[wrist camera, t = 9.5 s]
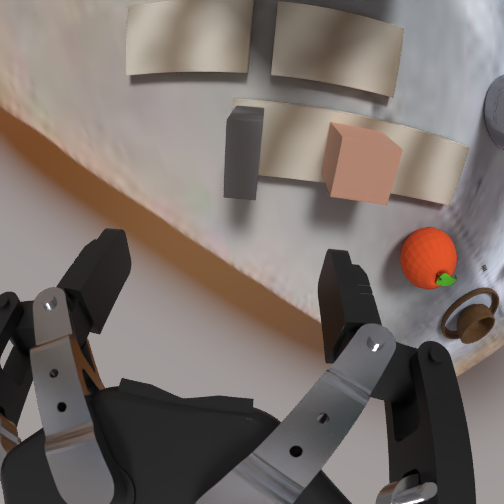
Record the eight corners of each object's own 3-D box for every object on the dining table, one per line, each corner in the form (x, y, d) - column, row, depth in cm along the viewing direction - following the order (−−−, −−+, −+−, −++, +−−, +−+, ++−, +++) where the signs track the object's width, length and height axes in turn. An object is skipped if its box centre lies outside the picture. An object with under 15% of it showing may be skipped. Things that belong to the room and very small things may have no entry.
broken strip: (399, 29, 18) (403, 28, 17) (389, 96, 22) (393, 97, 22) (132, 8, 18) (128, 7, 17) (130, 74, 22) (126, 75, 22)
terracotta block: (382, 132, 24) (402, 149, 20) (370, 180, 27) (386, 205, 23) (330, 121, 24) (342, 136, 20) (321, 172, 27) (330, 196, 23)
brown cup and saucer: (423, 305, 40) (434, 335, 35) (519, 229, 30) (540, 254, 25) (453, 343, 46) (462, 368, 41) (531, 286, 36) (544, 308, 31)
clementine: (456, 230, 31) (482, 267, 25) (426, 270, 35) (445, 310, 29) (413, 206, 29) (440, 244, 24) (382, 252, 33) (399, 295, 28)
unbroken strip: (464, 145, 24) (502, 172, 18) (445, 201, 28) (475, 236, 23) (234, 98, 24) (222, 112, 18) (230, 168, 28) (219, 202, 23)
